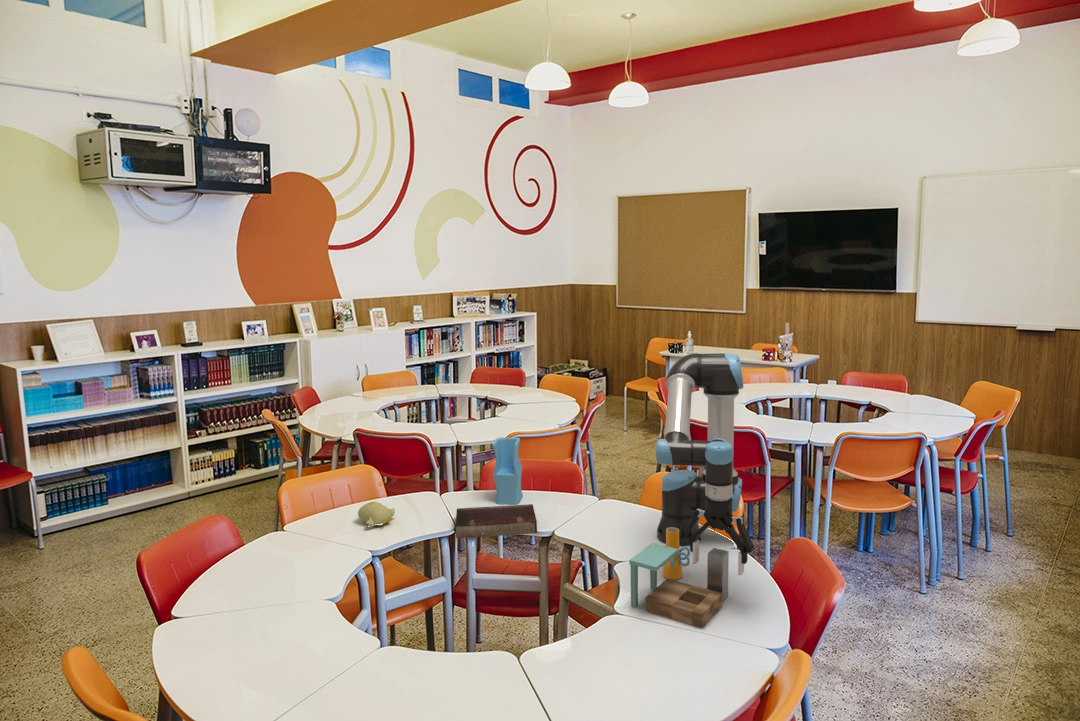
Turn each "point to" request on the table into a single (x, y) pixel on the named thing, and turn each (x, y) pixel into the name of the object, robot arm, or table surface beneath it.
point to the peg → (718, 571)
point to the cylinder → (675, 564)
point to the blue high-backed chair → (507, 471)
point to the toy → (375, 513)
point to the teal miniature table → (649, 566)
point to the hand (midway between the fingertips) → (717, 568)
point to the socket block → (684, 602)
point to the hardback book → (495, 521)
